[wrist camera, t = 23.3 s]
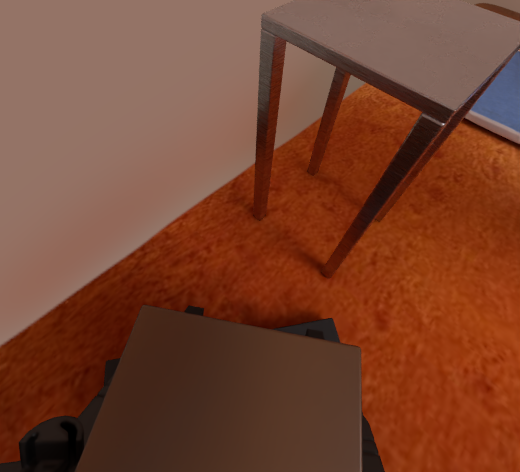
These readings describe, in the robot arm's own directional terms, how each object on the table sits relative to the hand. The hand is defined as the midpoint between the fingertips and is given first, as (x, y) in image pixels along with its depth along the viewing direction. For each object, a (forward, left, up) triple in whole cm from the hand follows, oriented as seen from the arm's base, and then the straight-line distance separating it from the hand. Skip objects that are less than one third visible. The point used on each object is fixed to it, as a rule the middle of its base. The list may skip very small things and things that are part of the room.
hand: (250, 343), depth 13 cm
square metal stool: (+8, +10, -5) cm, 13 cm away
